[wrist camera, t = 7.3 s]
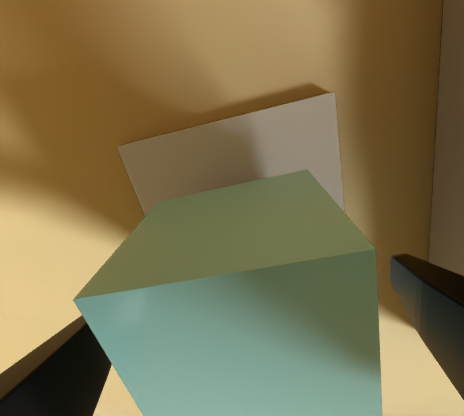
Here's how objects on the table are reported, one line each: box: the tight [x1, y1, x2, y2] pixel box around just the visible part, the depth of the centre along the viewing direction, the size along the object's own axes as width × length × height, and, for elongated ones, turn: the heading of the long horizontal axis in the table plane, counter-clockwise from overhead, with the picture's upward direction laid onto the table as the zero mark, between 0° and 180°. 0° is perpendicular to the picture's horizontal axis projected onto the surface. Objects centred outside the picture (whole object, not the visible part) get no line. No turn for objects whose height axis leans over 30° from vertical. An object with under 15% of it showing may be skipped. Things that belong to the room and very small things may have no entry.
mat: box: [117, 92, 345, 216], centre depth 12 cm, size 10×9×1 cm
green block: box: [73, 169, 382, 416], centre depth 9 cm, size 6×6×7 cm
